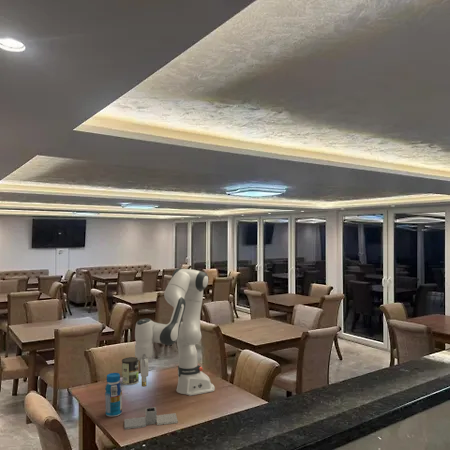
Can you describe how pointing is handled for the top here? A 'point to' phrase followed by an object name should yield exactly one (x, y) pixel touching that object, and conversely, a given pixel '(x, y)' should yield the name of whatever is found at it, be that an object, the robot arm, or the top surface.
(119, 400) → the beverage bottle
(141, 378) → the pin
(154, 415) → the hinge leaves
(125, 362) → the coffee can
